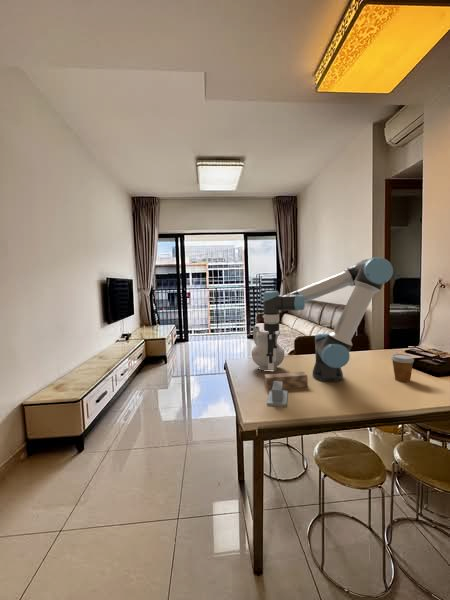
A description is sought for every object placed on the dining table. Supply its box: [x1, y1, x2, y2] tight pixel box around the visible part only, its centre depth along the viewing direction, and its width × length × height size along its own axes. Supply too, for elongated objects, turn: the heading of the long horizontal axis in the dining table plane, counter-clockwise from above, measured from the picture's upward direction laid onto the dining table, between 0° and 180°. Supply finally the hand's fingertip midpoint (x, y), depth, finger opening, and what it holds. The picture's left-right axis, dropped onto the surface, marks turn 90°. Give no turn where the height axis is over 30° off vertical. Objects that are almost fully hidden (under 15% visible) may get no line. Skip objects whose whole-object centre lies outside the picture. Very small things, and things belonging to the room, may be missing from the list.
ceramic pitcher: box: [251, 325, 285, 371], centre depth 159 cm, size 22×20×25 cm
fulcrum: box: [266, 381, 288, 408], centre depth 118 cm, size 8×14×6 cm, turn 165°
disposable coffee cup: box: [391, 353, 415, 383], centre depth 133 cm, size 10×10×12 cm
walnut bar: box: [264, 371, 309, 390], centre depth 132 cm, size 20×5×6 cm, turn 93°
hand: (272, 364), depth 133 cm, fingers open, 13 cm apart
